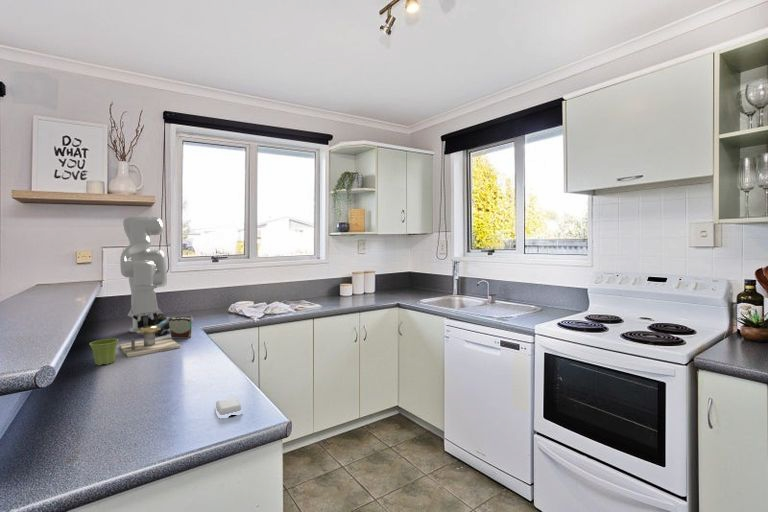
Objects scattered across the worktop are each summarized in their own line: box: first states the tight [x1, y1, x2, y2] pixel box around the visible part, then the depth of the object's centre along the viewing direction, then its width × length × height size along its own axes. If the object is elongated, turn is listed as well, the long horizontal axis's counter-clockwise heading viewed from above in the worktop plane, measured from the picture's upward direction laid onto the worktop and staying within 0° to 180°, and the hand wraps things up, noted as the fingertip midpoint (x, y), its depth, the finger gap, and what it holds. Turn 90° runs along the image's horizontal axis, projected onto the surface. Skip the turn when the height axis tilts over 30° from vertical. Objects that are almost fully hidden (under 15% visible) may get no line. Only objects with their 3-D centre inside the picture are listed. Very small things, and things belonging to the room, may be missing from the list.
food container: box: [168, 314, 194, 339], centre depth 200 cm, size 12×6×10 cm, turn 84°
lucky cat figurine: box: [144, 312, 170, 337], centre depth 208 cm, size 15×12×14 cm
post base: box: [119, 332, 181, 358], centre depth 181 cm, size 20×20×7 cm
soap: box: [215, 396, 242, 415], centre depth 115 cm, size 9×7×3 cm
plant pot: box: [88, 338, 119, 366], centre depth 159 cm, size 9×9×9 cm
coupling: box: [136, 315, 161, 334], centre depth 183 cm, size 12×9×6 cm
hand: (145, 328), depth 186 cm, fingers closed on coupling, 3 cm apart
